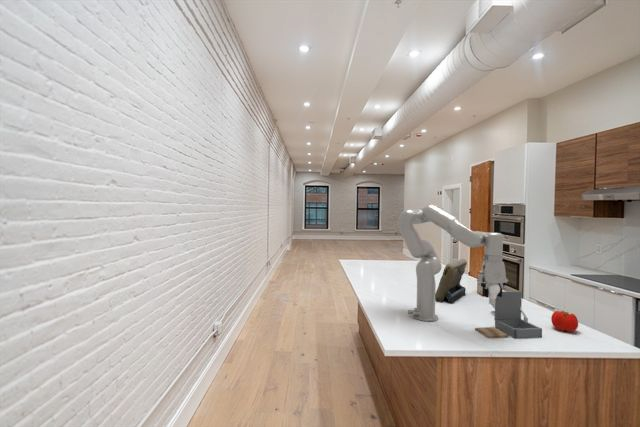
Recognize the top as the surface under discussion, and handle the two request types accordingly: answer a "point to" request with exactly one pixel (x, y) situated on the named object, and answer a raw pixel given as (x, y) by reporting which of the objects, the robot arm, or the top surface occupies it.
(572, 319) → the tomato
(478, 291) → the baking soda box
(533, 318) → the top surface
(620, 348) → the top surface
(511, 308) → the equipment case
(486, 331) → the walnut board
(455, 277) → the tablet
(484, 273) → the robot arm
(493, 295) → the lightbulb
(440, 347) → the top surface
